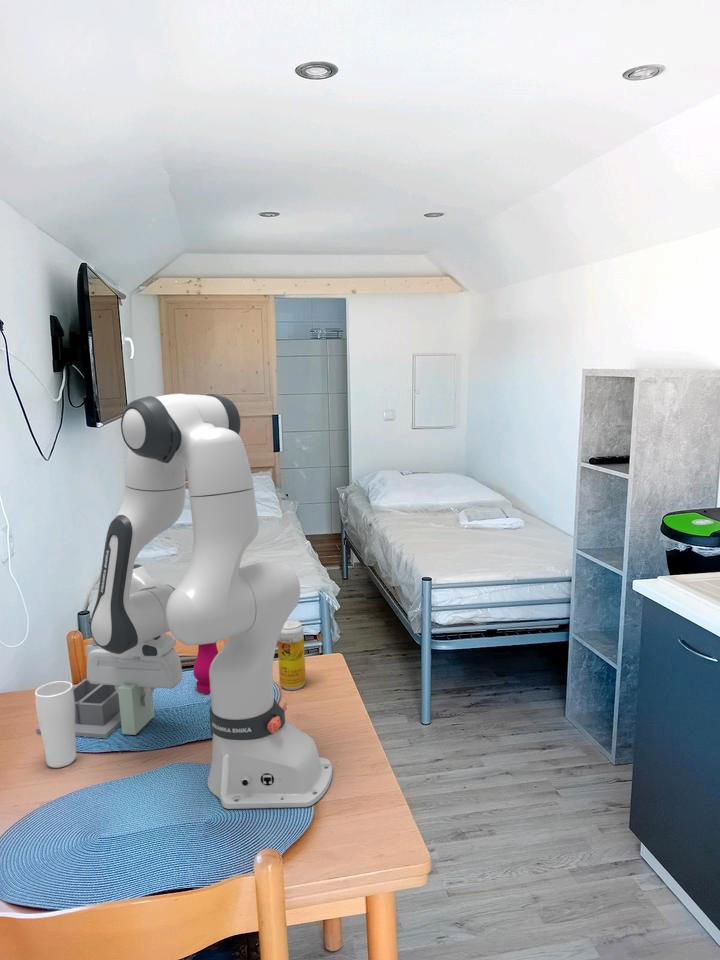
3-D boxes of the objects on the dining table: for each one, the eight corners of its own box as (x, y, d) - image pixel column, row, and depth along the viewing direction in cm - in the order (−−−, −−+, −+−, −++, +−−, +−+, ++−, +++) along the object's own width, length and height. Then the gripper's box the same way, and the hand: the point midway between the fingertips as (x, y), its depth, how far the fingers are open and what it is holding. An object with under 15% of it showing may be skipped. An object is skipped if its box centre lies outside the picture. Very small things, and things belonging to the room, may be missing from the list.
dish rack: (149, 698, 162) (147, 675, 161) (105, 739, 144) (103, 713, 143) (86, 694, 165) (83, 672, 164) (36, 733, 147) (33, 708, 147)
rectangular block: (154, 716, 152) (150, 672, 151) (135, 734, 145) (131, 688, 143) (141, 715, 153) (137, 671, 152) (122, 733, 145) (117, 688, 144)
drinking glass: (66, 772, 132) (58, 697, 130) (34, 769, 134) (26, 695, 131) (87, 753, 139) (80, 681, 136) (56, 750, 140) (49, 679, 138)
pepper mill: (232, 685, 167) (227, 604, 164) (210, 697, 161) (204, 613, 158) (210, 679, 171) (204, 599, 168) (188, 690, 165) (181, 608, 162)
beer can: (276, 690, 163) (273, 628, 161) (284, 679, 169) (280, 619, 167) (302, 691, 162) (299, 629, 160) (308, 680, 168) (305, 620, 166)
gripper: (77, 645, 145) (83, 708, 147) (168, 649, 141) (174, 714, 143) (94, 633, 151) (100, 694, 153) (182, 637, 147) (187, 700, 149)
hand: (136, 704), depth 148 cm, fingers closed on rectangular block, 3 cm apart
